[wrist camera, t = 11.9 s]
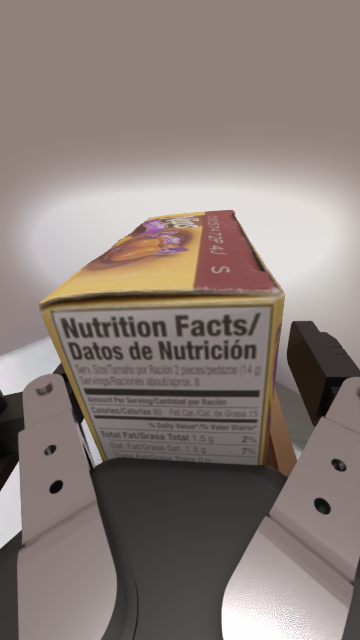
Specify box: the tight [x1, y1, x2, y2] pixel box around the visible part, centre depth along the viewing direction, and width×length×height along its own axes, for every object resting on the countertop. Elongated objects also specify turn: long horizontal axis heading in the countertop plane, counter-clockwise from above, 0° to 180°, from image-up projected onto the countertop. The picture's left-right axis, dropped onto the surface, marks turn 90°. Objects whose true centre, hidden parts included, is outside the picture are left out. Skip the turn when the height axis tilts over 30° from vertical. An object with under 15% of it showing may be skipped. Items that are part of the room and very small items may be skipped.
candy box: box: [39, 210, 285, 465], centre depth 11 cm, size 9×4×15 cm, turn 174°
